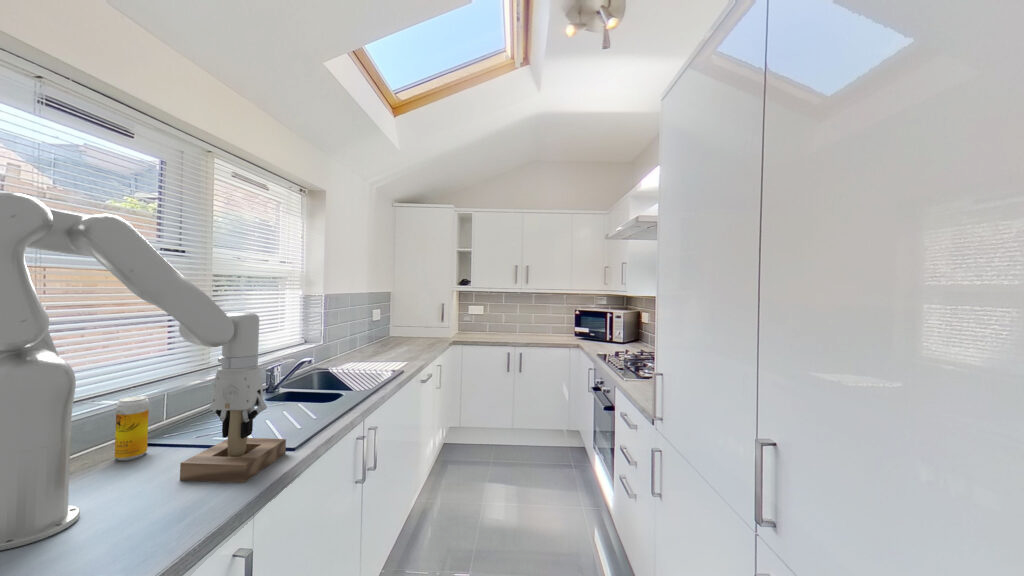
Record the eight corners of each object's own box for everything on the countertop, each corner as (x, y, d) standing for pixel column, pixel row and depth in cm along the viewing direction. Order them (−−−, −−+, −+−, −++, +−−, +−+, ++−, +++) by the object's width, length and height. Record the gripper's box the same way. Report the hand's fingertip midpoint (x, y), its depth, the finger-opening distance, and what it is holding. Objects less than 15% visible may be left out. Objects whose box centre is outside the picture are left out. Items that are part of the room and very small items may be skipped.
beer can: (108, 459, 100) (110, 400, 100) (136, 450, 106) (138, 394, 106) (125, 462, 99) (128, 402, 99) (153, 453, 105) (155, 396, 105)
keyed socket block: (244, 482, 90) (245, 465, 90) (179, 480, 90) (180, 462, 90) (285, 453, 106) (286, 439, 106) (230, 452, 106) (230, 437, 106)
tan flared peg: (254, 459, 99) (256, 399, 99) (223, 467, 94) (225, 404, 95) (248, 454, 102) (250, 396, 103) (218, 461, 98) (220, 400, 98)
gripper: (194, 364, 95) (191, 440, 95) (263, 366, 95) (260, 443, 94) (218, 358, 102) (215, 429, 102) (282, 360, 102) (279, 431, 102)
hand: (237, 435), depth 98 cm, fingers closed on tan flared peg, 3 cm apart
